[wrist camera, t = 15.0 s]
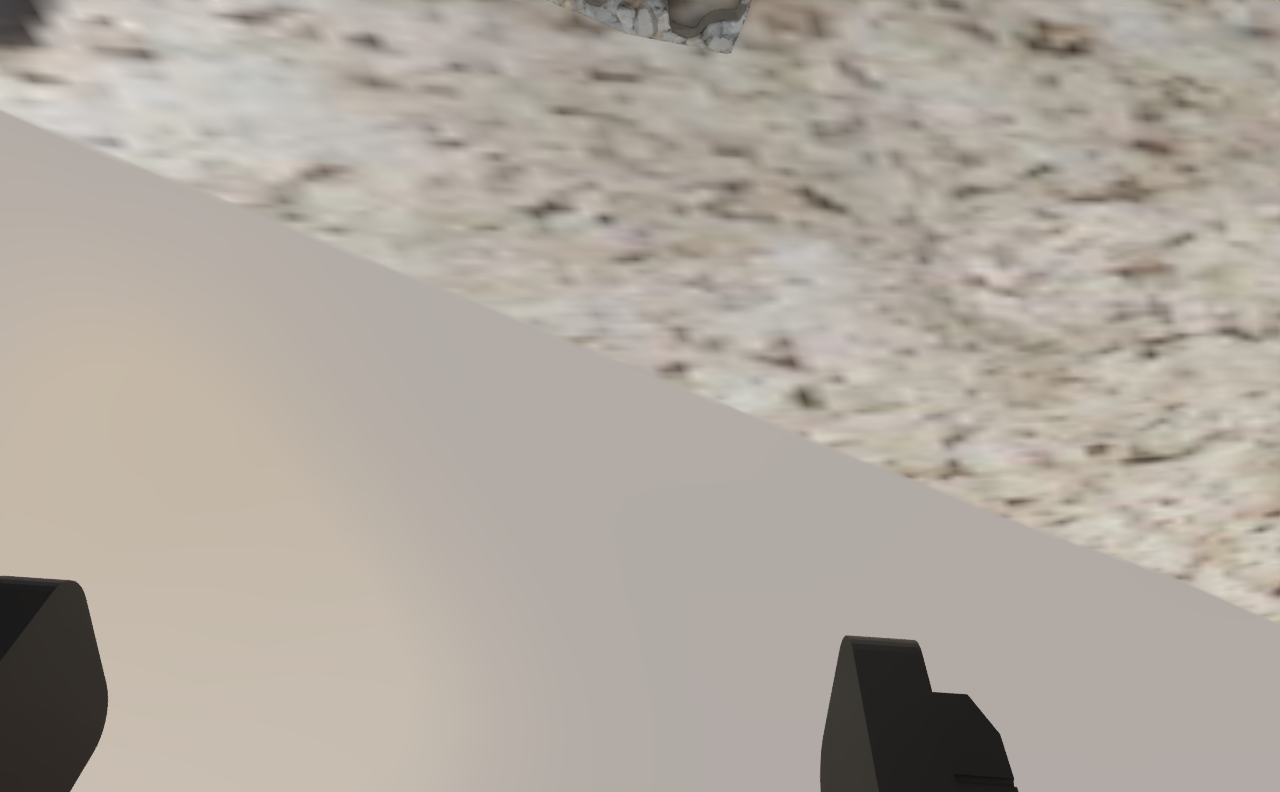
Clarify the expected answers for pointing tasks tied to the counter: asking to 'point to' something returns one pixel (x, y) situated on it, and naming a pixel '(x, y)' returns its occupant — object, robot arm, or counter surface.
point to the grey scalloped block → (664, 21)
